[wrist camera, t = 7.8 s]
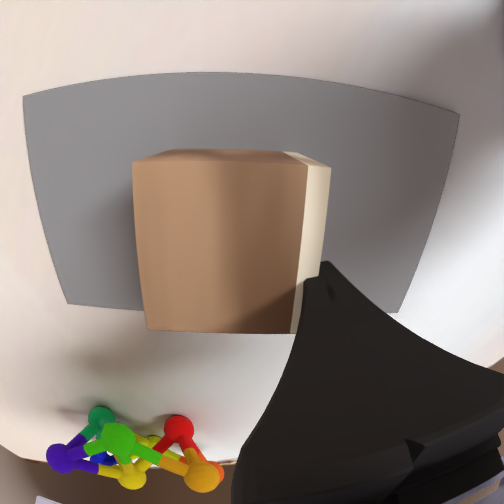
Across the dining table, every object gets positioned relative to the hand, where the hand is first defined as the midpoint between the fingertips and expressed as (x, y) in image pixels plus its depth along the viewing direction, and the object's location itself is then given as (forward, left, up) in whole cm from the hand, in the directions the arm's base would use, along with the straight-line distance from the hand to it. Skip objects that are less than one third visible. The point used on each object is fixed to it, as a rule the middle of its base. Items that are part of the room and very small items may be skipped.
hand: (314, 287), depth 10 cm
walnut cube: (0, -1, -2) cm, 2 cm away
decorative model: (+11, +21, -5) cm, 24 cm away
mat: (+3, 0, -5) cm, 5 cm away
